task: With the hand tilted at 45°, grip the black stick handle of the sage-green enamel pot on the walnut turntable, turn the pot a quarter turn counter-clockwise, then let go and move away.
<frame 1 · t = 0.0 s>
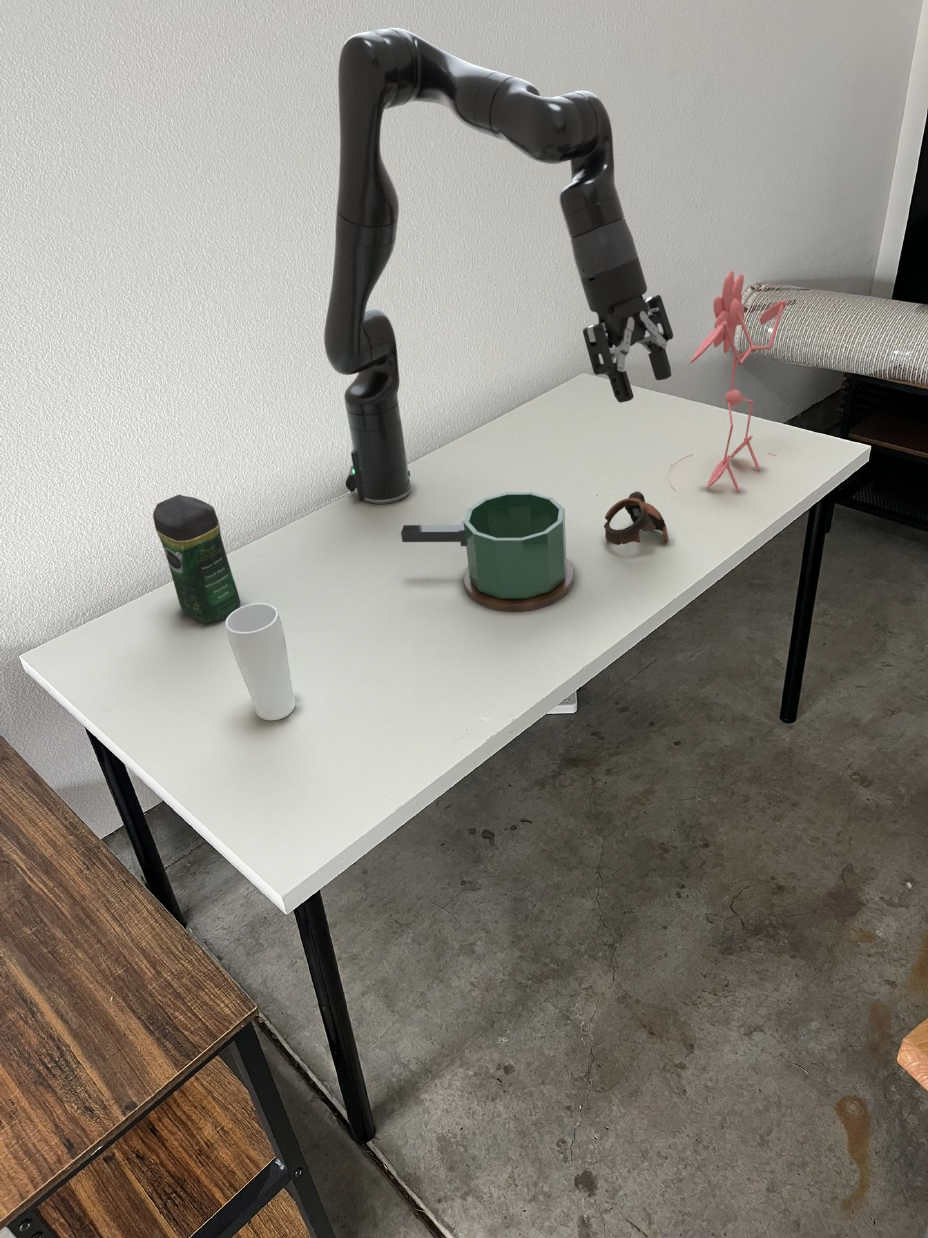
hand: (645, 389, 124), 31 cm above the table, tool tilted 20°, fingers open, 8 cm apart
figurine: (712, 473, 171), on the table
pot: (483, 544, 145), point 7 cm above the table, hinge at 0.0°
brown ring-shaped piece: (636, 539, 155), on the table
coffee jar: (212, 609, 150), on the table
drinking glass: (276, 710, 127), on the table
turntable: (518, 580, 148), on the table
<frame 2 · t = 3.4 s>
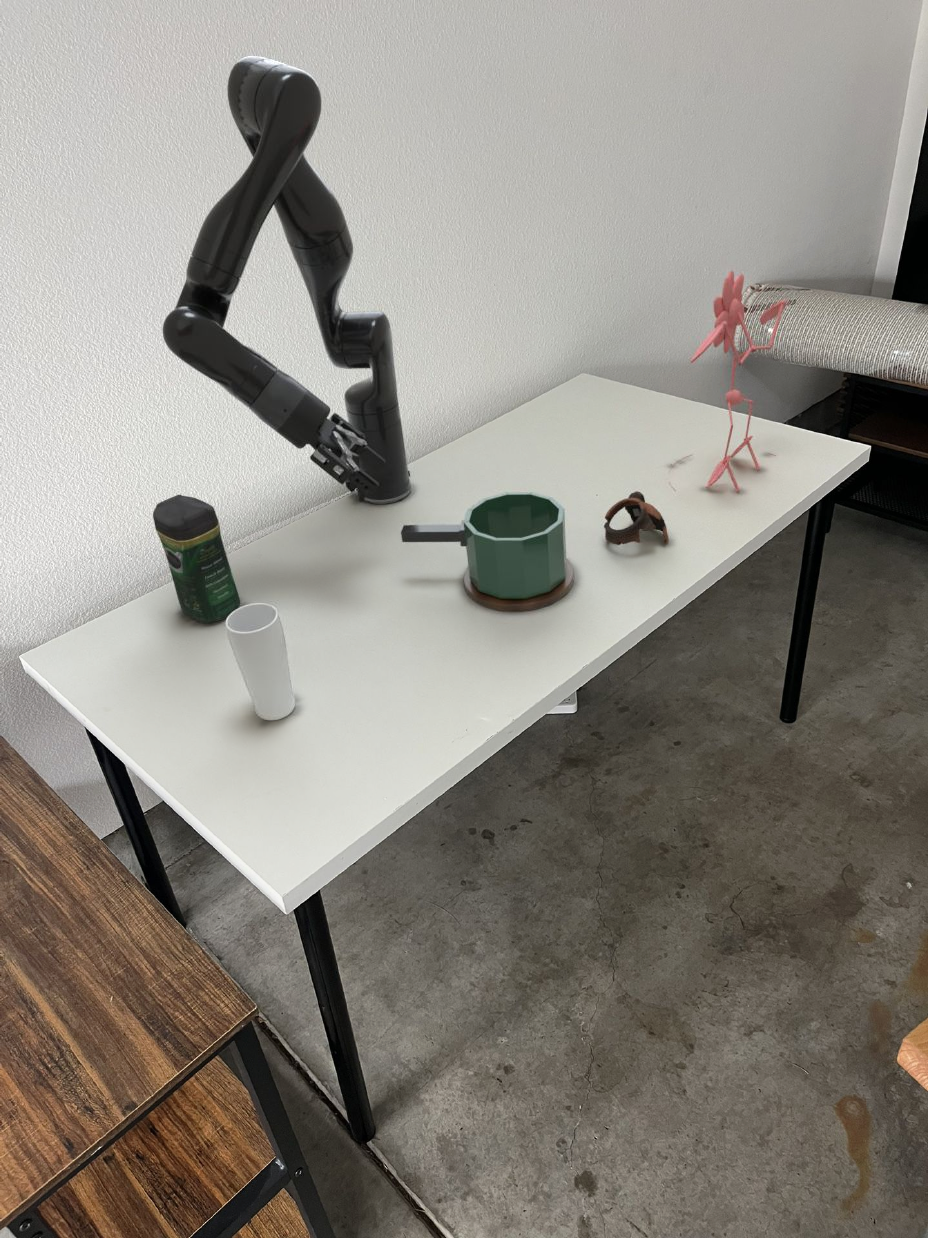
hand: (378, 478, 142), 18 cm above the table, tool tilted 45°, fingers open, 8 cm apart
nothing on the table moved.
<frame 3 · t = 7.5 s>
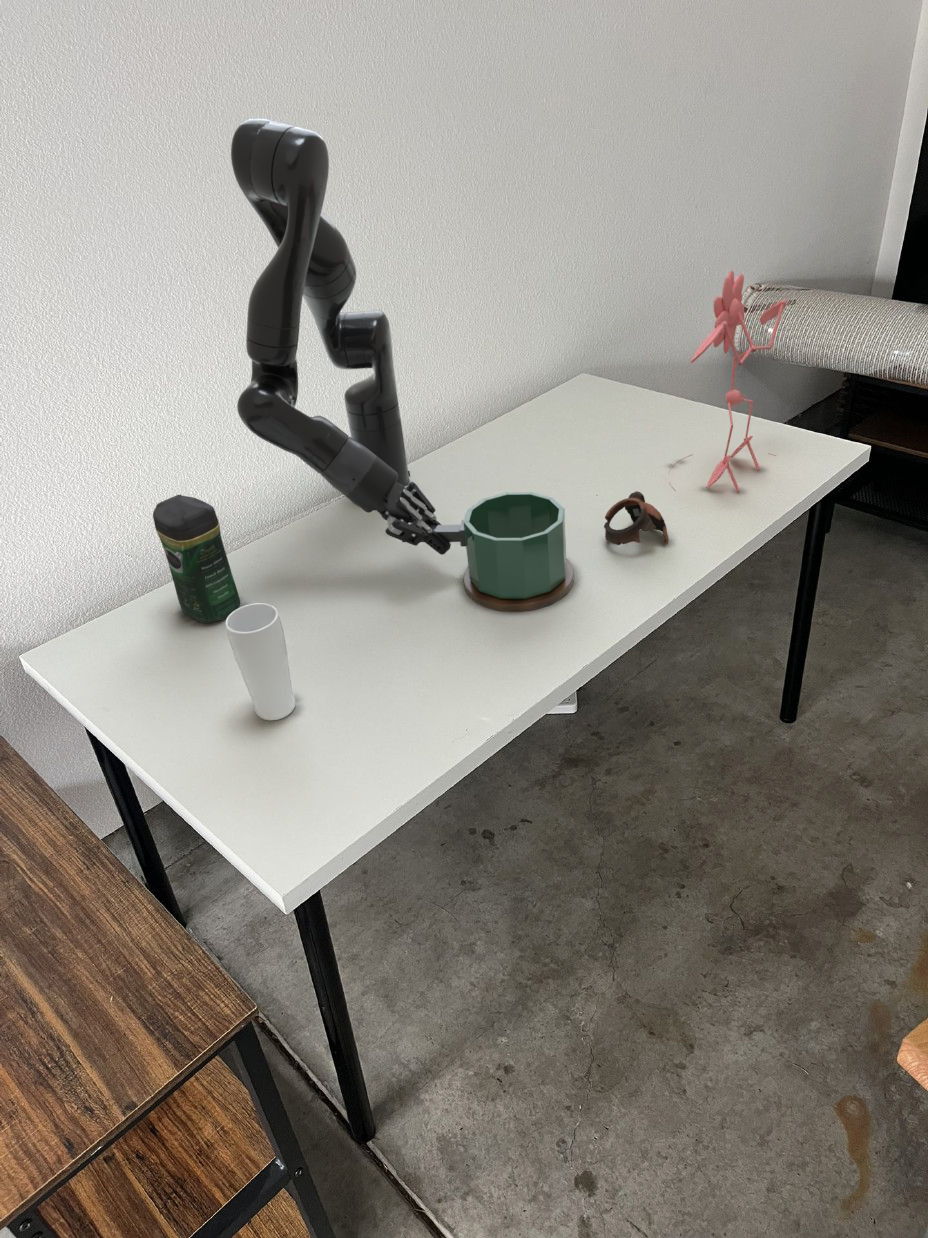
hand: (448, 544, 146), 6 cm above the table, tool tilted 45°, fingers closed on pot, 2 cm apart
pot: (483, 544, 145), point 7 cm above the table, hinge at 0.1°, touching gripper
everything else where it was.
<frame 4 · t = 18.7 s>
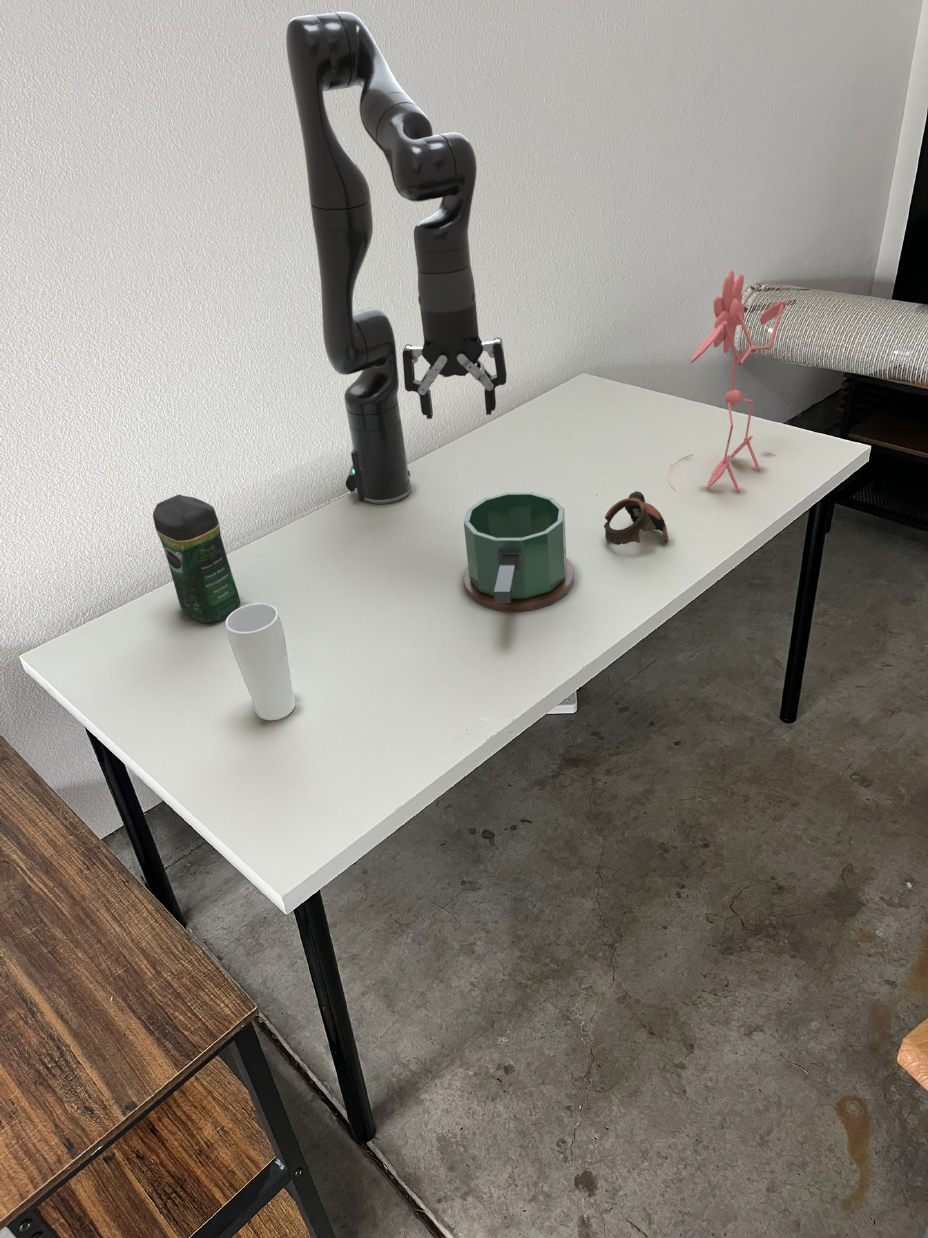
hand: (459, 414, 137), 26 cm above the table, tool pointing down, fingers open, 8 cm apart
pot: (512, 561, 140), point 7 cm above the table, hinge at 90.0°
everything else where it was.
at the end: pot at +90° (first picture: +0°); the gripper is holding nothing; brown ring-shaped piece moved 0.2 cm from its start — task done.
